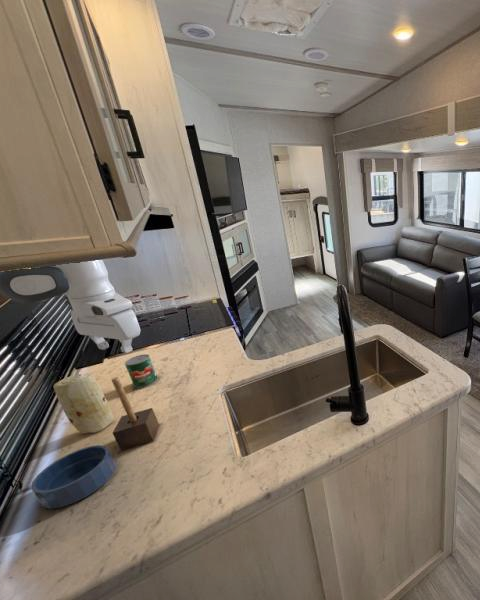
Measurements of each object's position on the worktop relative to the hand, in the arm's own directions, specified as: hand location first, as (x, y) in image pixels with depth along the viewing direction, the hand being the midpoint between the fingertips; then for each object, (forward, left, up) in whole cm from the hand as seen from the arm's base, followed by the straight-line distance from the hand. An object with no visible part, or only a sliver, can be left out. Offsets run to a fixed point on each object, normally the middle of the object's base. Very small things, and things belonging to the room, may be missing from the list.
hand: (116, 350), depth 85 cm
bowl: (-14, -10, -32) cm, 36 cm away
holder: (-4, +3, -32) cm, 32 cm away
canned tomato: (-11, +41, -32) cm, 54 cm away
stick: (-4, +3, -32) cm, 32 cm away
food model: (-19, +16, -32) cm, 41 cm away
